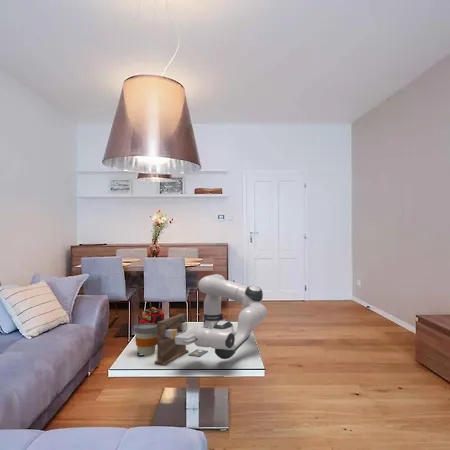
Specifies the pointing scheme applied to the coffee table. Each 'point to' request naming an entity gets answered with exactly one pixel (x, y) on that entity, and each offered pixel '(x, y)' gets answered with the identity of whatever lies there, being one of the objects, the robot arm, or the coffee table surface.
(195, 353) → the card
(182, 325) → the off-white rectangular block
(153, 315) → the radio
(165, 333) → the yellow and grey block
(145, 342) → the reusable coffee cup
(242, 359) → the coffee table surface
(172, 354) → the panel
